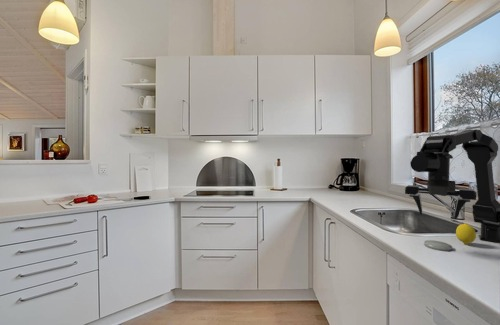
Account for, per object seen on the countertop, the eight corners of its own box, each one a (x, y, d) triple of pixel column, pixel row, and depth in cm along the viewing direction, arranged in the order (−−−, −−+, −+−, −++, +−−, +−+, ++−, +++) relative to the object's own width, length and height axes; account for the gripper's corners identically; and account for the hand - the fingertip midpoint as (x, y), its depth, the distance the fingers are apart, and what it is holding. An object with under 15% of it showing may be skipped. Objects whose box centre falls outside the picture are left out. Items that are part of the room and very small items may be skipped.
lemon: (465, 241, 91) (465, 221, 91) (479, 247, 86) (480, 225, 86) (451, 241, 91) (452, 221, 91) (465, 247, 86) (465, 225, 85)
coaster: (424, 241, 91) (424, 238, 91) (451, 246, 86) (451, 243, 86) (423, 247, 85) (423, 244, 85) (452, 253, 80) (452, 250, 80)
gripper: (403, 171, 81) (402, 216, 81) (478, 174, 69) (477, 227, 69) (407, 170, 89) (406, 211, 89) (475, 172, 77) (473, 219, 77)
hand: (437, 216), depth 81 cm, fingers open, 9 cm apart
